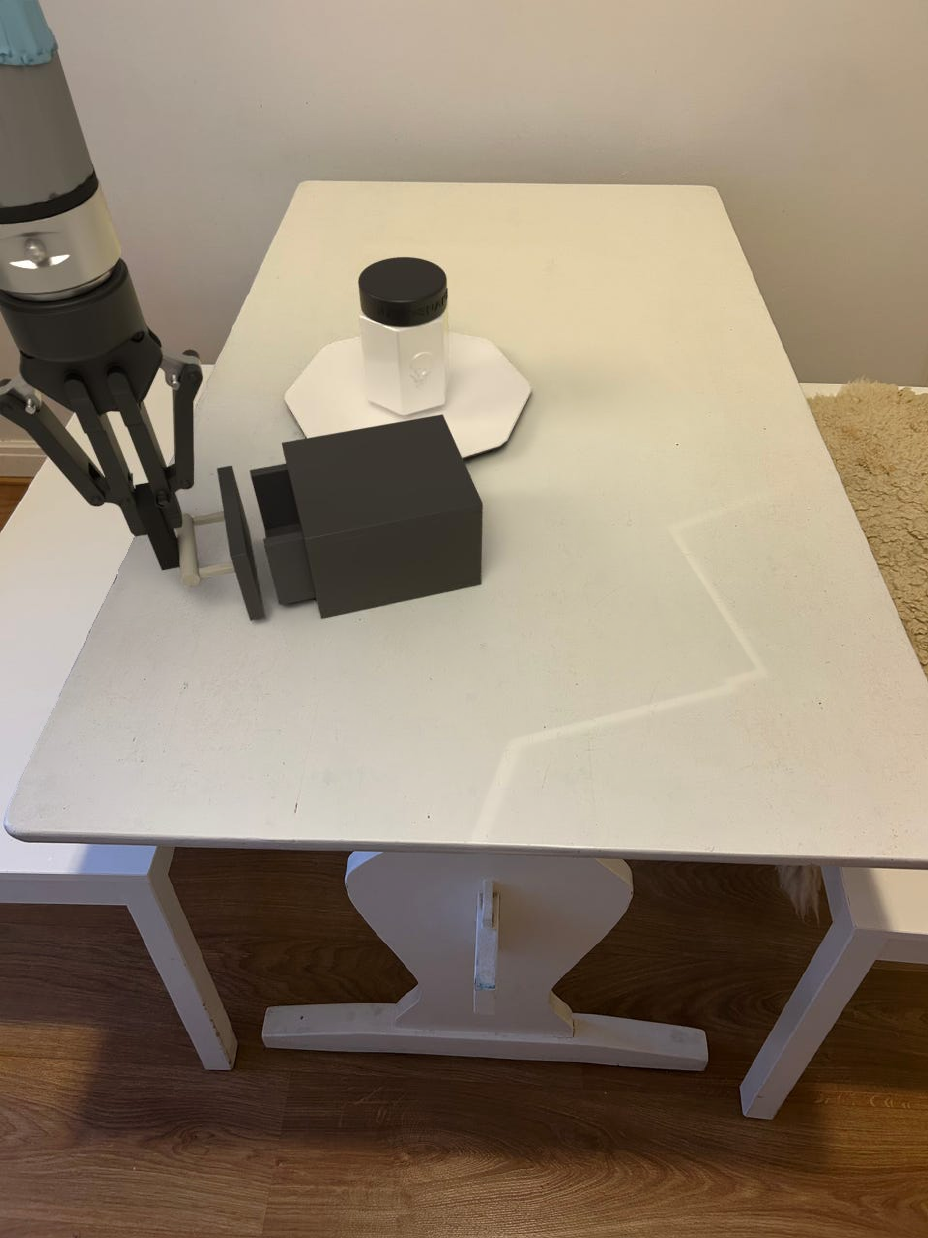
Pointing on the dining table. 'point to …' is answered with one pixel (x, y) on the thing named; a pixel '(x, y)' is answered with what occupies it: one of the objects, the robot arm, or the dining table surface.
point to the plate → (473, 410)
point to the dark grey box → (386, 514)
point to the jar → (405, 333)
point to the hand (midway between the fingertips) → (170, 556)
